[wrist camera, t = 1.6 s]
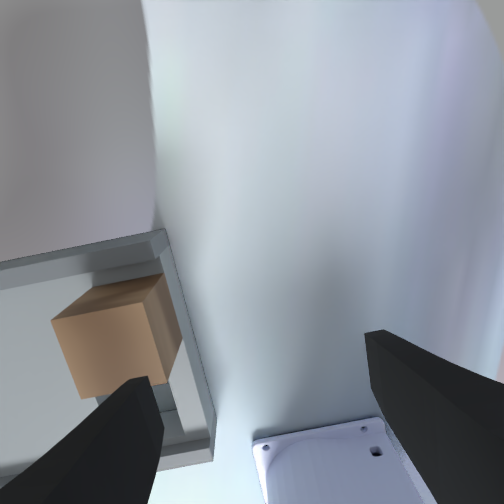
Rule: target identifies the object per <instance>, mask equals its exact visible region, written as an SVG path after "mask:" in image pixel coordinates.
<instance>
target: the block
mask: <svg viewBox="0 0 504 504" xmlns="http://www.w3.org/2000/svg"><path fill="white" fill-rule="evenodd" d="M50 321H51V324H52V326H53V329H54V332H55V334H56V337H57V339H58V342H59V344H60V347H61V350H62V352H63V355H64V357H65V360H66V362H67V365H68V367H69V370H70V373H71V375H72V378H73V380H74V383H75V385H76V388H77V391H78V393H79V396H80V398H81V400H82V399H87V398H92V397H97V396H103V395H108V394H112V393H113V392H114V391H115V390H117V389H118V388H119V387H120V386H121V385H122V384H124V383H125V382H126V381H127V380H129V379H132V378H137V377H142V376H148V378H149V381H150V384H151V386H154V385H159V384H165V383H167V382H168V379H169V376H170V373H171V371H172V368H173V365H174V362H175V359H176V356H177V353H178V350H179V347H180V345H181V342H182V339H183V337H182V334H181V330H180V327H179V323H178V320H177V316H176V312H175V309H174V305H173V302H172V298H171V295H170V291H169V288H168V284H167V280H166V277H165V273H160V274H155V275H150V276H145V277H140V278H135V279H130V280H125V281H120V282H115V283H110V284H105V285H100V286H95V287H92V288H91V289H89V290H88V291H87V292H85V293H84V294H83V295H82V296H80V297H79V298H78V299H77V300H75V301H74V302H73V303H72V304H70V305H69V306H68V307H67V308H65V309H64V310H63V311H62V312H60V313H59V314H58V315H57V316H55V317H54V318H53V319H52V320H50Z"/></svg>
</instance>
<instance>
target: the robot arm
mask: <svg viewBox="0 0 504 504" xmlns="http://www.w3.org/2000/svg"><path fill="white" fill-rule="evenodd" d="M364 335H365V343H366V351H367V359H368V367H369V375H370V383H371V389H372V391H373V393H374V396H375V398H376V400H377V402H378V404H379V407H380V409H381V411H382V413H383V415H384V417H385V419H386V421H387V422H388V424H389V425H390V427H391V429H392V430H393V432H394V434H395V435H396V437H397V438H398V440H399V442H400V443H401V445H402V447H403V448H404V450H405V451H406V453H407V455H408V456H409V458H410V459H411V461H412V463H413V464H414V466H415V467H416V469H417V471H418V472H419V474H420V475H421V477H422V479H423V480H424V482H425V483H426V485H427V487H428V488H429V490H430V491H431V493H432V495H433V497H434V498H435V500H436V502H437V504H504V384H502V383H500V382H497V381H494V380H492V379H489V378H487V377H484V376H482V375H479V374H477V373H474V372H472V371H470V370H467V369H465V368H463V367H460V366H458V365H456V364H453V363H451V362H449V361H447V360H445V359H443V358H440V357H438V356H436V355H434V354H432V353H430V352H428V351H426V350H424V349H422V348H420V347H418V346H416V345H414V344H412V343H410V342H408V341H406V340H404V339H402V338H400V337H398V336H396V335H394V334H392V333H390V332H388V331H386V330H384V329H383V330H378V331H373V332H368V333H364ZM363 426H365V427H364V428H361V427H363ZM164 429H165V427H164V424H163V421H162V418H161V415H160V412H159V409H158V406H157V403H156V400H155V396H154V393H153V390H152V387H151V384H150V381H149V378H148V376H142V377H137V378H132V379H129V380H127V381H126V382H125V383H124V384H122V385H121V386H120V387H119V388H118V389H117V390H115V391H114V392H113V393H112V394H111V395H110V396H109V397H108V398H107V399H106V400H105V401H103V402H102V403H101V404H100V405H99V406H98V407H97V408H96V409H95V410H94V411H93V412H92V413H90V414H89V415H88V416H87V417H86V418H85V419H84V420H83V421H82V422H81V423H80V424H79V425H77V426H76V427H75V428H74V429H73V430H72V431H71V432H69V433H68V434H67V435H66V436H65V437H64V438H63V439H61V440H60V441H59V442H58V443H57V444H56V445H54V446H53V447H52V448H51V449H50V450H49V451H47V452H46V453H45V454H44V455H43V456H42V457H40V458H39V459H38V460H37V461H35V462H34V463H33V464H32V465H30V466H29V467H28V468H27V469H25V470H24V471H23V472H22V473H20V474H19V475H18V476H16V477H15V478H14V479H12V480H11V481H10V482H8V483H7V484H6V485H4V486H3V487H2V488H0V504H147V503H148V500H149V496H150V493H151V489H152V486H153V482H154V479H155V475H156V472H157V468H158V464H159V461H160V455H161V449H162V443H163V436H164ZM264 445H268V446H264ZM252 452H253V456H254V460H255V464H256V468H257V472H258V476H259V481H260V485H261V489H262V493H263V497H264V501H265V504H425V503H424V501H423V500H422V498H421V496H420V494H419V492H418V490H417V489H416V487H415V485H414V483H413V481H412V480H411V478H410V476H409V474H408V472H407V470H406V469H405V467H404V465H403V463H402V461H401V459H400V458H399V456H398V454H397V452H396V450H395V448H394V447H393V445H392V443H391V441H390V439H389V437H388V436H387V434H386V431H385V424H384V422H383V420H382V419H381V418H379V417H374V418H369V419H364V420H358V421H353V422H348V423H342V424H337V425H332V426H327V427H321V428H316V429H311V430H305V431H300V432H295V433H290V434H284V435H279V436H274V437H268V438H263V439H258V440H255V441H254V442H253V443H252Z"/></svg>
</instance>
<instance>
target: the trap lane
mask: <svg viewBox="0 0 504 504" xmlns="http://www.w3.org/2000/svg"><path fill="white" fill-rule="evenodd" d="M160 273H165V277H166V280H167V284H168V288H169V291H170V295H171V298H172V302H173V305H174V309H175V312H176V316H177V320H178V323H179V327H180V330H181V334H182V337H183V339H182V342H181V345H180V347H179V350H178V353H177V356H176V359H175V362H174V365H173V368H172V371H171V373H170V376H169V379H168V381H169V384H170V387H171V391H172V394H173V397H174V401H175V404H176V407H177V410H172V411H166V412H161V413H160V415H161V418H162V421H163V424H164V427H165V429H164V436H163V443H162V449H161V455H160V461H159V464H158V468H157V472H158V471H163V470H169V469H174V468H179V467H185V466H190V465H195V464H201V463H206V462H211V461H213V457H214V447H215V436H216V426H217V418H216V415H215V411H214V407H213V404H212V400H211V396H210V392H209V389H208V385H207V381H206V378H205V374H204V370H203V367H202V363H201V359H200V355H199V352H198V348H197V344H196V341H195V337H194V333H193V330H192V326H191V322H190V319H189V315H188V311H187V307H186V304H185V300H184V296H183V293H182V289H181V285H180V282H179V278H178V274H177V270H176V267H175V263H174V259H173V256H172V252H171V248H170V245H169V241H168V237H167V233H166V230H165V229H160V230H155V231H151V232H146V233H141V234H136V235H131V236H126V237H121V238H116V239H111V240H106V241H101V242H96V243H91V244H87V245H82V246H77V247H72V248H67V249H62V250H57V251H52V252H48V253H42V254H37V255H32V256H27V257H22V258H17V259H13V260H8V261H3V262H0V488H2V487H3V486H4V485H6V484H7V483H8V482H10V481H11V480H12V479H14V478H15V477H16V476H18V475H19V474H20V473H22V472H23V471H24V470H25V469H27V468H28V467H29V466H30V465H32V464H33V463H34V462H35V461H37V460H38V459H39V458H40V457H42V456H43V455H44V454H45V453H46V452H47V451H49V450H50V449H51V448H52V447H53V446H54V445H56V444H57V443H58V442H59V441H60V440H61V439H63V438H64V437H65V436H66V435H67V434H68V433H69V432H71V431H72V430H73V429H74V428H75V427H76V426H77V425H79V424H80V423H81V422H82V421H83V420H84V419H85V418H86V417H87V416H88V415H89V414H90V413H92V412H93V411H94V410H95V409H96V408H97V407H98V406H99V405H100V404H101V403H102V402H103V401H105V400H106V399H107V398H108V397H109V396H110V395H111V394H108V395H103V396H97V397H92V398H87V399H82V400H81V398H80V396H79V393H78V391H77V388H76V385H75V383H74V380H73V378H72V375H71V373H70V370H69V367H68V365H67V362H66V360H65V357H64V355H63V352H62V350H61V347H60V344H59V342H58V339H57V337H56V334H55V332H54V329H53V326H52V324H51V321H50V320H52V319H53V318H54V317H55V316H57V315H58V314H59V313H60V312H62V311H63V310H64V309H65V308H67V307H68V306H69V305H70V304H72V303H73V302H74V301H75V300H77V299H78V298H79V297H80V296H82V295H83V294H84V293H85V292H87V291H88V290H89V289H91V288H92V287H95V286H100V285H105V284H110V283H115V282H120V281H125V280H130V279H135V278H140V277H145V276H150V275H155V274H160Z"/></svg>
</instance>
